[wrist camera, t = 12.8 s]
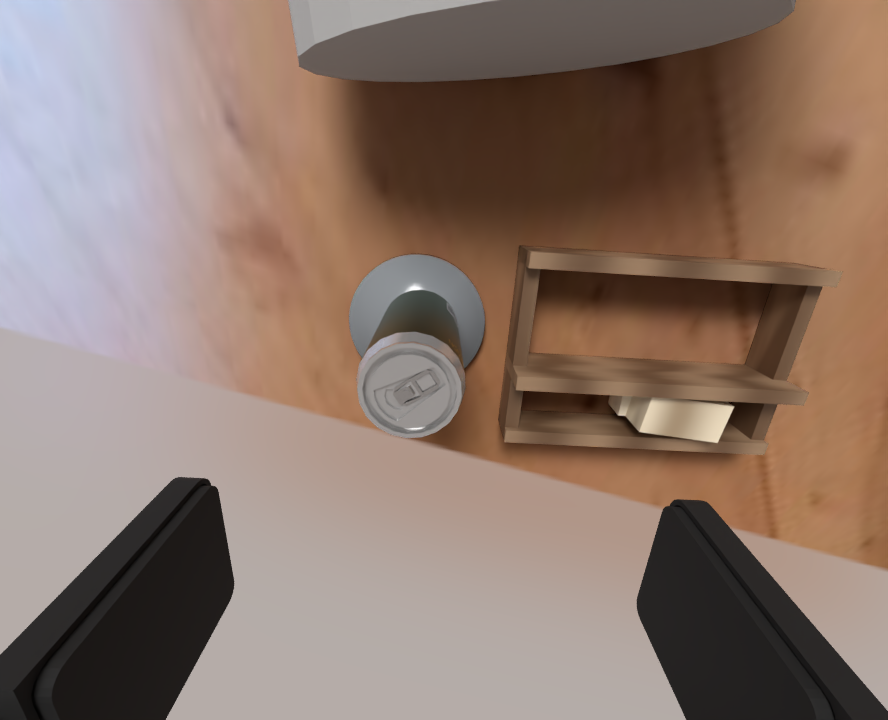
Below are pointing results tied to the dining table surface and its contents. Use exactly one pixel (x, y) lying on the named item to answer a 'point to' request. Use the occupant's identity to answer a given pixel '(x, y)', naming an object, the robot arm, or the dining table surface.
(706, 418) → the top offcut
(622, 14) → the alarm clock
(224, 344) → the dining table surface
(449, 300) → the grey glossy dome
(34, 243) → the dining table surface
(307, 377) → the dining table surface
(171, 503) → the robot arm
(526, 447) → the dining table surface
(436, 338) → the beer can
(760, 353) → the rack
